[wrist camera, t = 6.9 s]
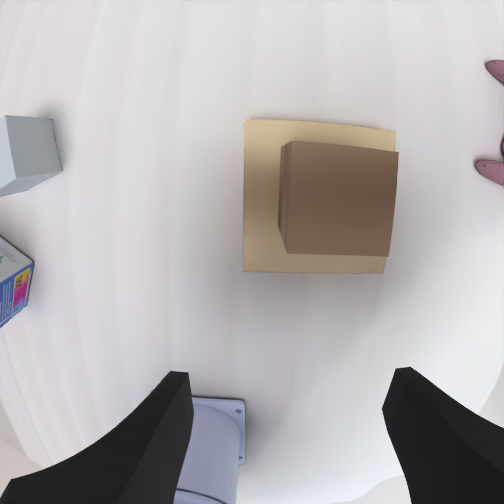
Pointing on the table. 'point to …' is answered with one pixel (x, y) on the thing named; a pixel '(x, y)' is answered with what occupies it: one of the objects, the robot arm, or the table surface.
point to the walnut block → (336, 199)
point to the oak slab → (267, 194)
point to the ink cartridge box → (13, 281)
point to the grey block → (26, 153)
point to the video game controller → (498, 170)
